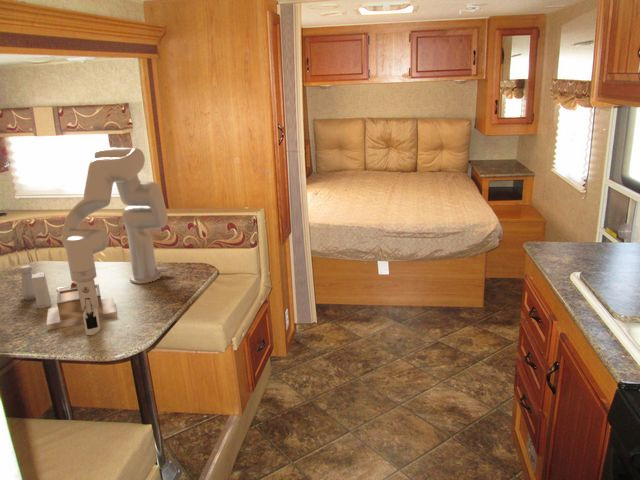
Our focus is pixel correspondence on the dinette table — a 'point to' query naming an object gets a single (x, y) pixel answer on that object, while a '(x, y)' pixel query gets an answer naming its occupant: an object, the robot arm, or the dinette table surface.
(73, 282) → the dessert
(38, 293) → the skincare box
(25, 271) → the salt shaker
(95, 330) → the eye dropper bottle
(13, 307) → the dinette table surface
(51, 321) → the display plinth
